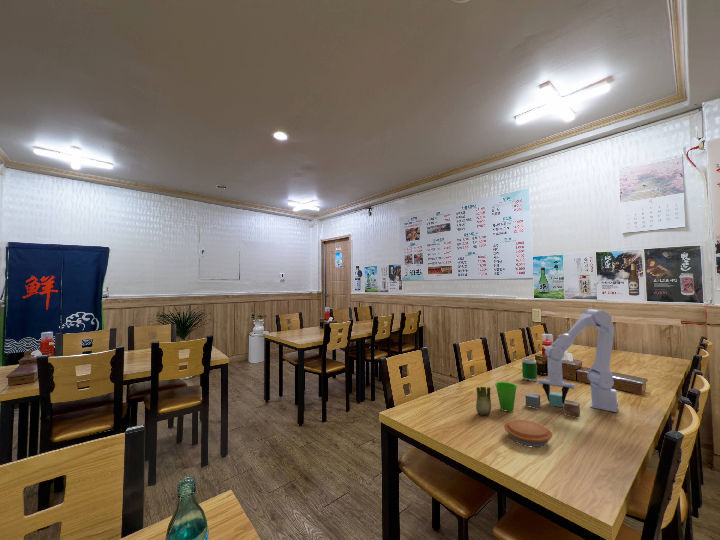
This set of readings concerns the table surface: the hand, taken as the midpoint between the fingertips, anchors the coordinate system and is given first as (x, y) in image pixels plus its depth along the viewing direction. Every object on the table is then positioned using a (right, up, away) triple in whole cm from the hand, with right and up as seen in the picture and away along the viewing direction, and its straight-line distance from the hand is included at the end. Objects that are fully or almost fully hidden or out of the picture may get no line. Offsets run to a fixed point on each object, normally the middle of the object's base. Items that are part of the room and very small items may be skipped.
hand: (556, 401), depth 145 cm
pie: (-30, -1, -32) cm, 44 cm away
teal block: (0, -1, 0) cm, 1 cm away
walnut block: (0, -1, -11) cm, 11 cm away
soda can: (+9, -4, +39) cm, 40 cm away
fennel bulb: (-38, -2, -10) cm, 39 cm away
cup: (-25, -2, -5) cm, 26 cm away
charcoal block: (-11, -2, -1) cm, 11 cm away
